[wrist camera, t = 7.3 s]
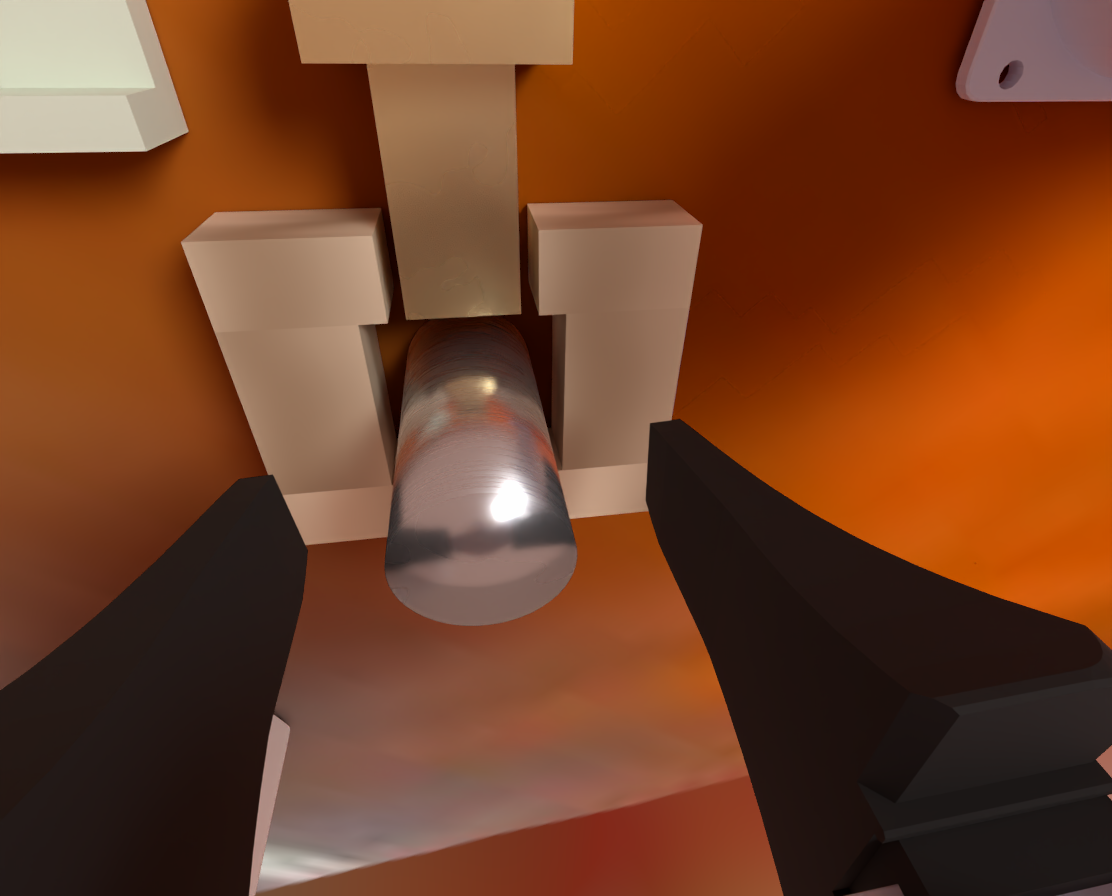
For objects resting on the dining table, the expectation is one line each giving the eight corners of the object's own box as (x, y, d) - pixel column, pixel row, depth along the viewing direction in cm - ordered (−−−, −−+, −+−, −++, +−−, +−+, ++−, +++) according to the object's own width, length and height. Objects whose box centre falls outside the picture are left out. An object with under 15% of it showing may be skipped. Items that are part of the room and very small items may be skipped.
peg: (528, 304, 14) (580, 485, 9) (530, 411, 16) (574, 614, 11) (397, 311, 14) (367, 505, 8) (415, 419, 16) (400, 635, 10)
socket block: (672, 199, 13) (702, 224, 12) (638, 466, 18) (656, 509, 17) (214, 212, 12) (181, 241, 11) (309, 496, 17) (294, 546, 15)
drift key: (546, -86, 10) (576, -115, 8) (545, 278, 14) (565, 332, 12) (306, -95, 10) (260, -131, 7) (375, 285, 13) (361, 344, 11)
